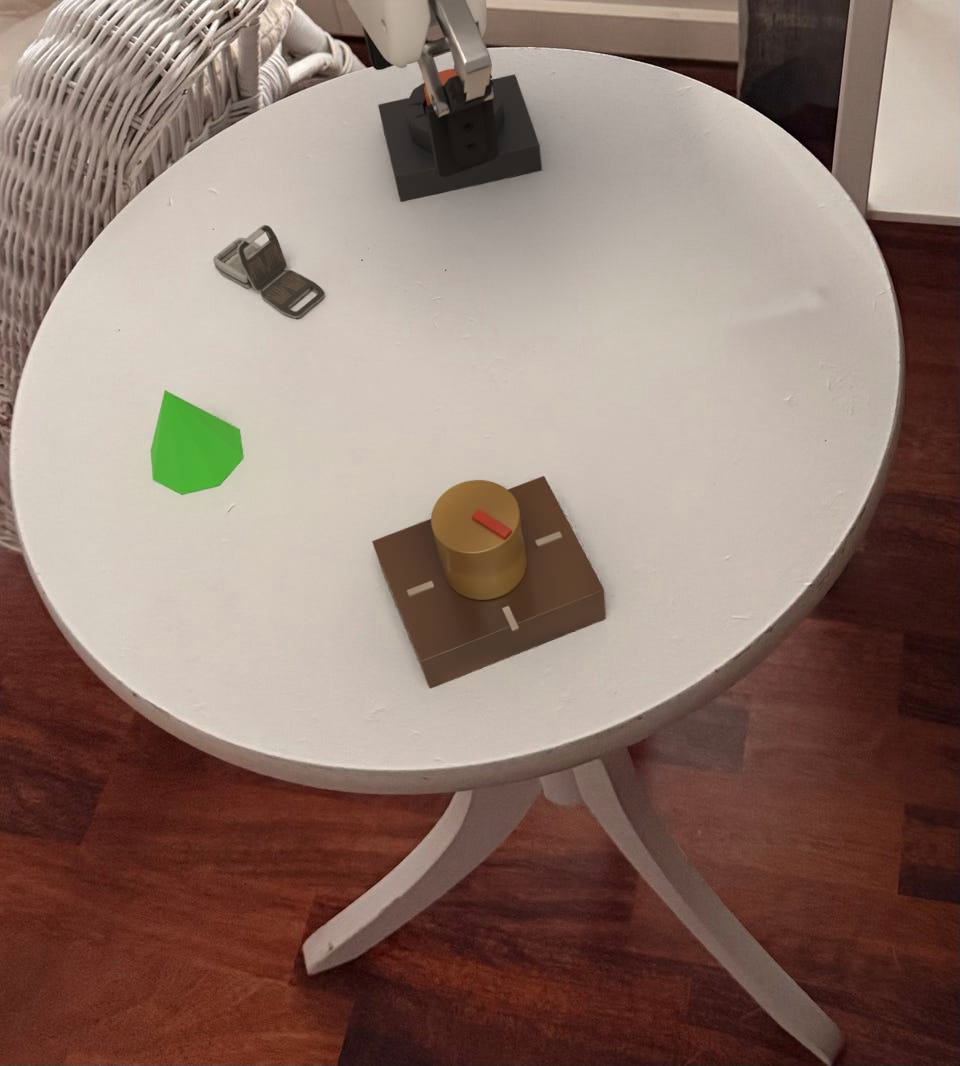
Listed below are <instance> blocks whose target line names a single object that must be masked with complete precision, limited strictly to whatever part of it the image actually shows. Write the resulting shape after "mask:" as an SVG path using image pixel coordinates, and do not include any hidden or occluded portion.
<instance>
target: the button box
mask: <svg viewBox="0 0 960 1066" xmlns="http://www.w3.org/2000/svg"><path fill="white" fill-rule="evenodd" d="M491 81H493V82H494V84H493V85H492V88H493V95H494V96H493V99H492V100H493V108H494V117H495V125H496V134H497V142H498V150H499V154H498V156H497V157H496V158H495V159H494V160H492V161H490V162H487V163H484V164H482V165H479V166H476V167H473V168H471V169H468V170H465V171H462V172H460V173H457V174H454V175H451V176H449V177H441V176H440V175H439V173H438V171H437V170H436V167H435V162H434V156H433V150H432V144H431V139H430V133H429V127H428V121H427V116H426V110H425V106H427V102H426V96H425V91H424V87H425V82H424V81H423V83H421V84H419V85H418V86H417V87H414V89H412V92H411V93H410V95H409V97H406V98H401V99H397V100H393V101H388V102H384V103H379V104H378V105H377V107H378V111H379V116H380V120H381V126H382V130H383V135H384V138H385V142H386V147H387V151H388V155H389V160H390V163H391V168H392V173H393V177H394V181H395V185H396V190H397V193H398V197H399V201H400V202H405V201H409V200H413V199H419V198H424V197H428V196H432V195H436V194H437V195H438V194H441V193H446V192H450V191H454V190H455V191H456V190H459V189H464V188H468V187H473V186H477V185H482V184H486V183H490V182H494V181H495V182H496V181H499V180H504V179H509V178H514V177H518V176H522V175H527V174H531V173H536V172H540V171H542V170H543V168H542V159H541V158H542V156H541V155H542V154H541V145H540V142H539V139H538V136H537V133H536V130H535V127H534V124H533V121H532V119H531V115H530V113H529V110H528V107H527V104H526V101H525V99H524V96H523V95H524V94H523V92H522V90H521V87H520V84H519V82H518V79H517V76H516V74H515V73H514V74H510V75H506V76H505V75H504V76H501V77H496V78H491Z"/></svg>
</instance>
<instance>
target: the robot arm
mask: <svg viewBox="0 0 960 1066" xmlns="http://www.w3.org/2000/svg"><path fill="white" fill-rule="evenodd" d="M346 1H347V3H348V4H349V6H350V7H351V9H352V11H353V12H354V14H355V16H356V17H357V19H358V21H359V23H360V24H361V25H362V30H363V35H364V41H365V45H366V49H367V53H368V59H369V62H370V64H371V66H372V68H373V69H374V70H377V71H382V70H385V69H388V68H392V67H397V68H399V69H403V68H407V66H408V65H411V64H415V63H417V64H418V67H419V71H420V73H421V76H422V80H423V83H424V82H425V85H426V88H427V91H428V94H429V97H430V100H431V103H432V104H430V105H428V106H425V110H426V116H427V121H428V127H429V133H430V139H431V144H432V150H433V156H434V162H435V167H436V170H437V171H438V173H439V175H440V176H441V177H449V176H451V175H454V174H457V173H460V172H462V171H465V170H468V169H471V168H473V167H476V166H479V165H482V164H484V163H487V162H490V161H492V160H494V159H495V158H496V157H497V156H498V154H499V150H498V142H497V134H496V125H495V117H494V108H493V100H492V99H493V96H494V95H493V88H492V85H493V84H494V82H493V81H491V80H492V79H493V75H492V70H493V69H492V68H493V63H492V58H491V55H490V52H489V50H488V48H487V46H486V42H485V41H484V39H483V37H484V35H485V33H486V30H487V26H488V25H487V24H488V11H487V0H346ZM435 26H439V28H440V30H441V32H442V34H443V37H440V38H438V39H435V40H431V41H429V42H428V33H429V29H430V28H432V27H435ZM448 53H450V54H451V56H452V60H453V63H454V64H453V69H454V71H455V73H456V76H454V77H451V78H449V79H448V80H447V82H446V83H445V84H444V85H442V82H441V79H440V76H439V73H438V72H439V70H438V68H437V64H436V61H435V58H437V57H439V56H442V55H445V54H448Z"/></svg>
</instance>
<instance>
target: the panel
mask: <svg viewBox="0 0 960 1066" xmlns="http://www.w3.org/2000/svg"><path fill="white" fill-rule="evenodd" d="M507 490H508V491H509V492H510V493H511V494H512V495H513V496H514V497H515V499H516V501H517V503H518V506H519V510H520V517H521V523H522V530H523V536H524V543H525V549H526V556H527V567H526V571H525V573H524V576H523V578H522V579H521V581H520V582H519V583H518V585H517V586H516V587H515V588H514V589H512V590H511V591H510V592H508V593H506V594H505V595H502V596H500V597H497V598H494V599H488V600H477V599H471V598H468V597H465V596H463V595H461V594H459V593H458V592H456V591H455V590H454V589H453V588H452V587H451V586H450V585H449V584H448V582H447V580H446V578H445V576H444V572H443V568H442V565H441V561H440V557H439V553H438V549H437V545H436V542H435V538H434V534H433V530H432V525H431V518H429V519H427V520H424V521H421V522H418V523H416V524H414V525H410V526H408V527H405V528H403V529H400V530H397V531H395V532H393V533H390V534H387V535H385V536H382V537H379V538H377V539H374V540H372V541H371V543H372V546H373V549H374V551H375V552H374V553H375V554H376V557H377V560H378V563H379V567H380V570H381V573H382V575H383V577H384V579H385V583H386V584H387V587H388V590H389V592H390V594H391V597H392V599H393V602H394V604H395V608H396V609H397V612H398V614H399V617H400V619H401V621H402V623H403V627H404V629H405V632H406V634H407V636H408V639H409V641H410V643H411V647H412V649H413V651H414V654H415V656H416V658H417V661H418V663H419V666H420V669H421V672H422V674H423V676H424V678H425V680H426V683H427V685H428V688H429V689H432V688H436V687H437V686H441V685H443V684H446V683H448V682H451V681H453V680H455V679H458V678H460V677H462V676H465V675H467V674H470V673H473V672H476V671H478V670H481V669H483V668H485V667H488V666H490V665H493V664H496V663H498V662H500V661H503V660H505V659H507V658H510V657H513V656H515V655H519V654H521V653H523V652H526V651H528V650H531V649H533V648H535V647H538V646H541V645H544V644H546V643H548V642H551V641H554V640H557V639H559V638H561V637H564V636H566V635H568V634H571V633H575V632H576V631H578V630H581V629H583V628H586V627H589V626H591V625H593V624H596V623H598V622H599V623H600V622H601V621H605V620H606V619H607V614H606V597H605V588H604V586H603V585H602V583H601V580H600V578H599V576H598V574H597V573H596V571H595V569H594V568H593V565H592V564H591V562H590V560H589V558H588V555H587V554H586V553H585V551H584V549H583V547H582V545H581V543H580V541H579V539H578V537H577V535H576V534H575V531H574V530H573V527H572V526H571V524H570V522H569V520H568V518H567V517H566V515H565V512H564V511H563V509H562V507H561V505H560V503H559V502H558V499H557V497H556V496H555V493H554V492H553V490H552V488H551V486H550V485H549V482H548V480H547V478H546V477H545V475H542V476H539V477H537V478H533V479H531V480H529V481H527V482H524V483H521V484H518V485H516V486H513V487H511V488H507Z"/></svg>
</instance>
